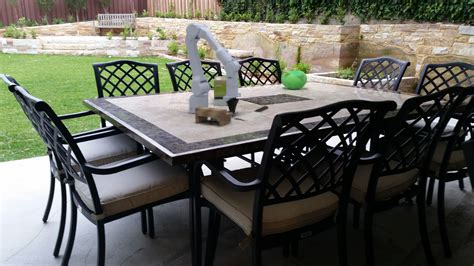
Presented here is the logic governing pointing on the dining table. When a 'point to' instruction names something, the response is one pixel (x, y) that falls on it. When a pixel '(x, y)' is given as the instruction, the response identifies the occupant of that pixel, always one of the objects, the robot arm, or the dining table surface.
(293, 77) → the green cabbage
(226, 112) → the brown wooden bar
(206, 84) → the robot arm
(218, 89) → the tea box
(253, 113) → the kitchen cleaver
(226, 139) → the dining table surface
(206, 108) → the wooden bridge block
